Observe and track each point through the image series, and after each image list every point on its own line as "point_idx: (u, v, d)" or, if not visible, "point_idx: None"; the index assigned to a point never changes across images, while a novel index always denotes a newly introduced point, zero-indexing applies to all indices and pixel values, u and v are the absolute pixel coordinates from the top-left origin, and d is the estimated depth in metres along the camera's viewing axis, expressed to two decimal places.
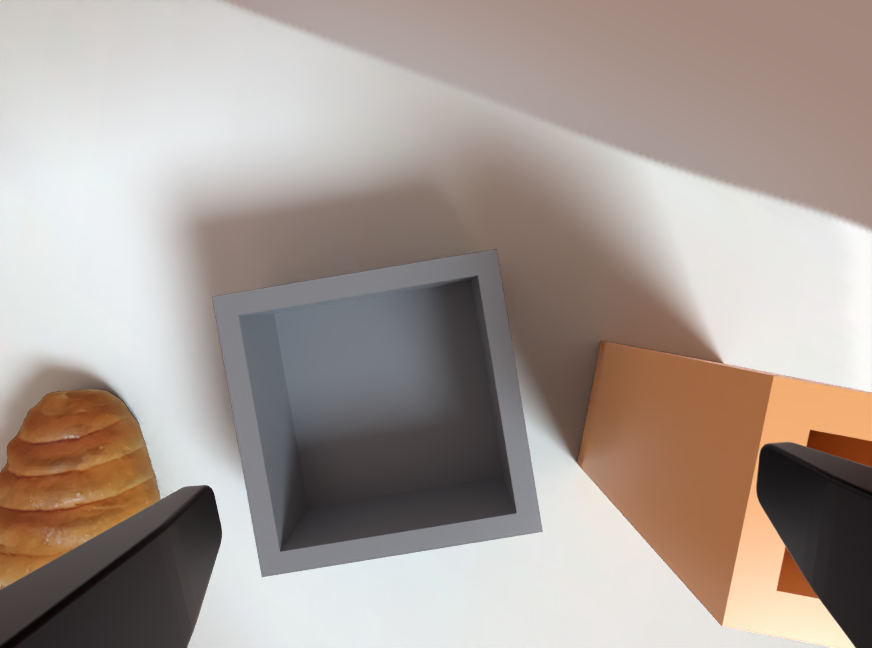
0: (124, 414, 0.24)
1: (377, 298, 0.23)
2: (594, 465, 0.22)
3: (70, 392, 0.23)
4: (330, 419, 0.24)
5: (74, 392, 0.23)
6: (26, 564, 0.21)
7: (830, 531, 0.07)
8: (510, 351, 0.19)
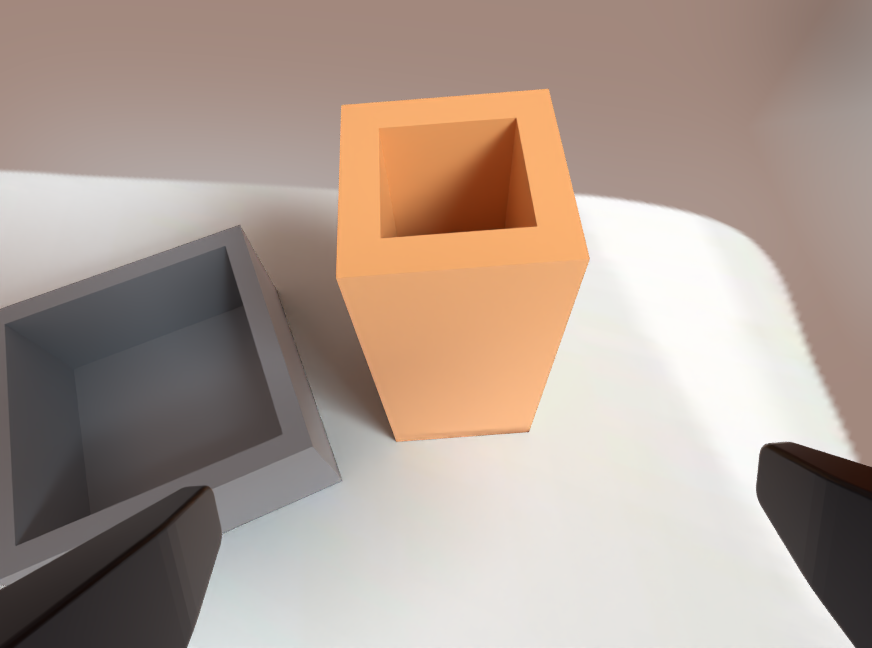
0: None
1: (173, 332, 0.25)
2: None
3: None
4: (125, 453, 0.22)
5: None
6: None
7: (830, 531, 0.07)
8: (259, 293, 0.21)
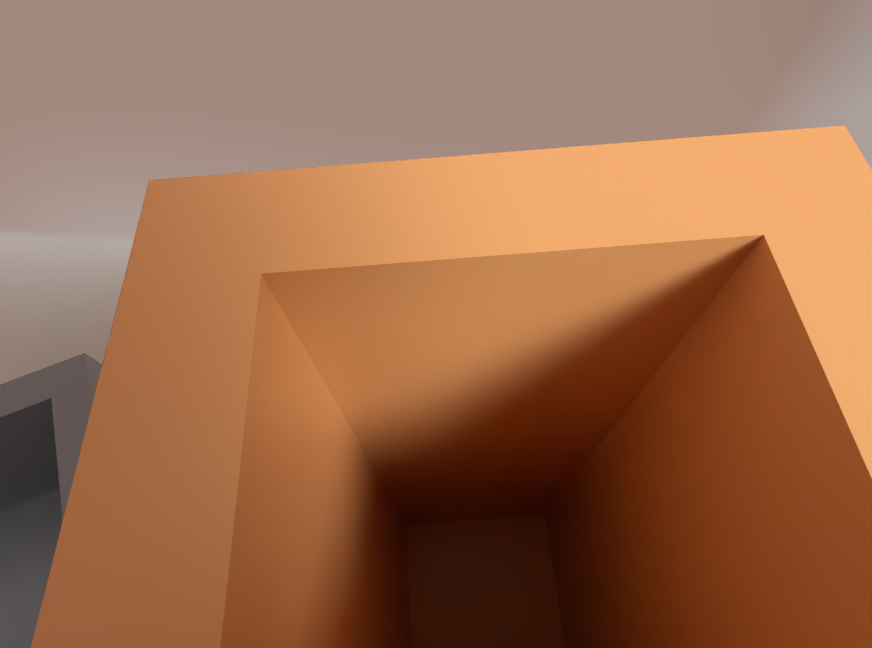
0: None
1: None
2: None
3: None
4: None
5: None
6: None
7: None
8: None
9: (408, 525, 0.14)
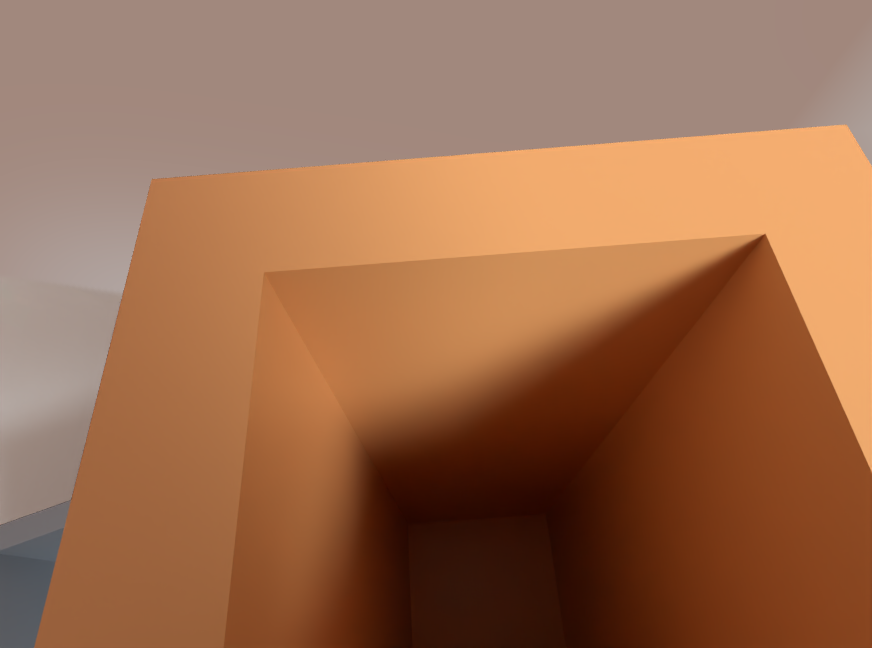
0: None
1: None
2: None
3: None
4: None
5: None
6: None
7: None
8: None
9: (409, 525, 0.14)
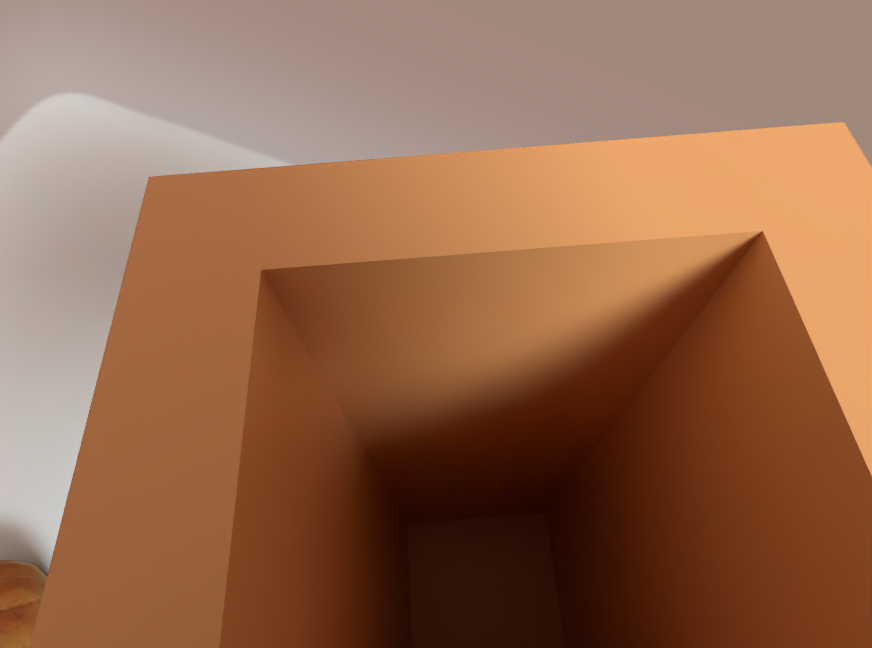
0: None
1: None
2: None
3: None
4: None
5: None
6: None
7: None
8: None
9: (408, 524, 0.14)
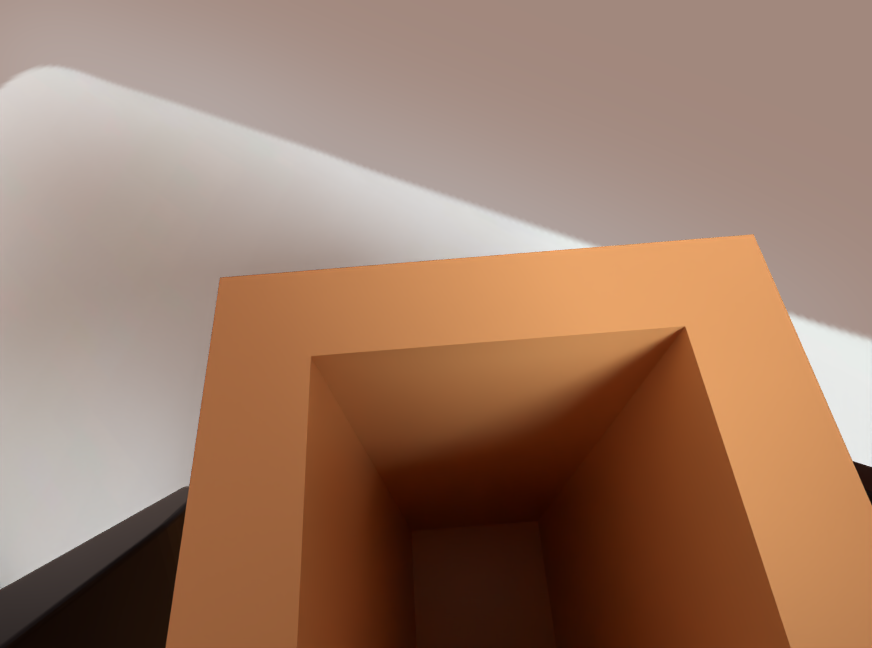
0: None
1: None
2: None
3: None
4: None
5: None
6: None
7: None
8: None
9: (412, 531, 0.15)
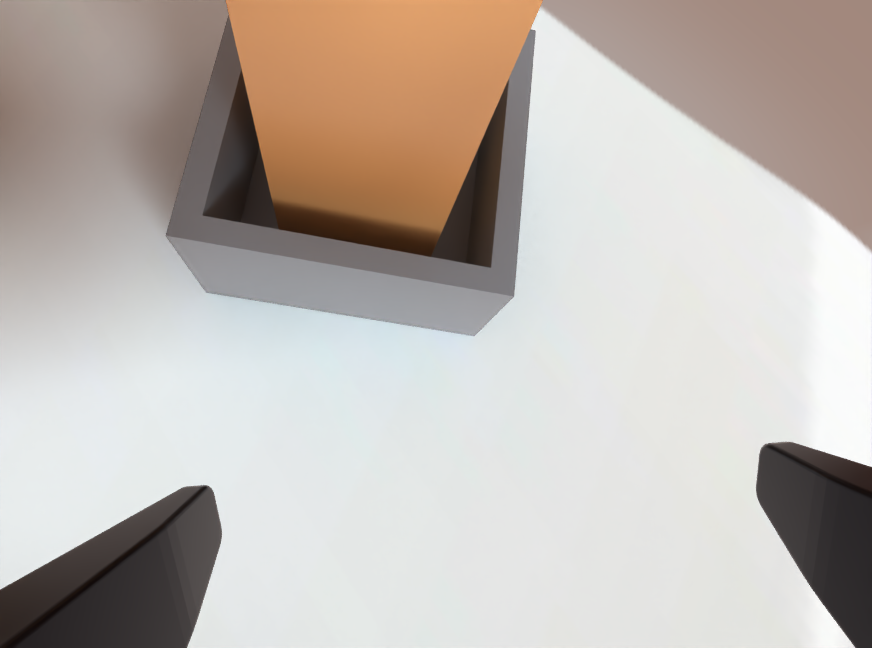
0: None
1: None
2: None
3: None
4: None
5: None
6: None
7: (830, 531, 0.07)
8: (526, 114, 0.18)
9: None
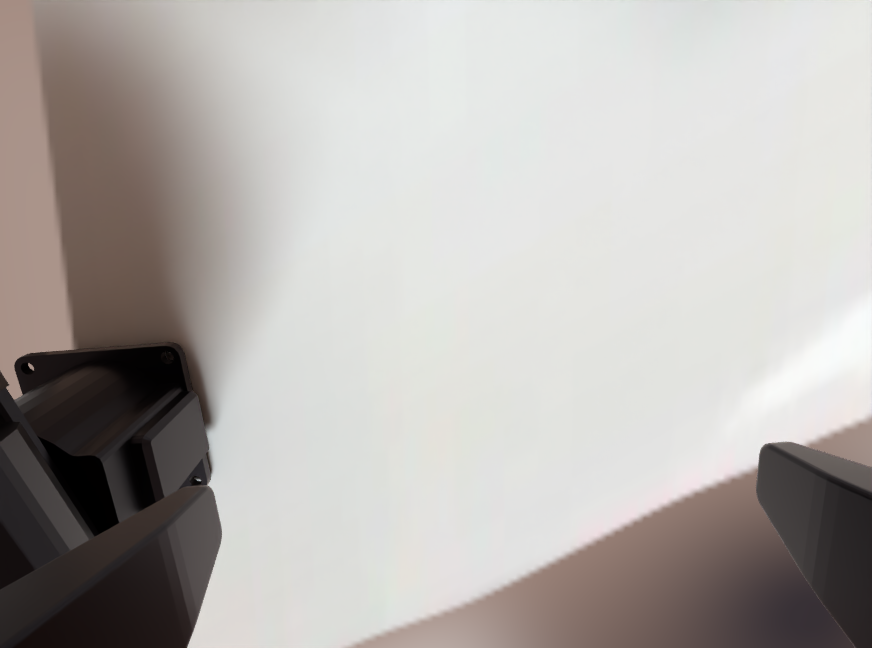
0: None
1: None
2: None
3: None
4: None
5: None
6: None
7: (830, 531, 0.07)
8: None
9: None
